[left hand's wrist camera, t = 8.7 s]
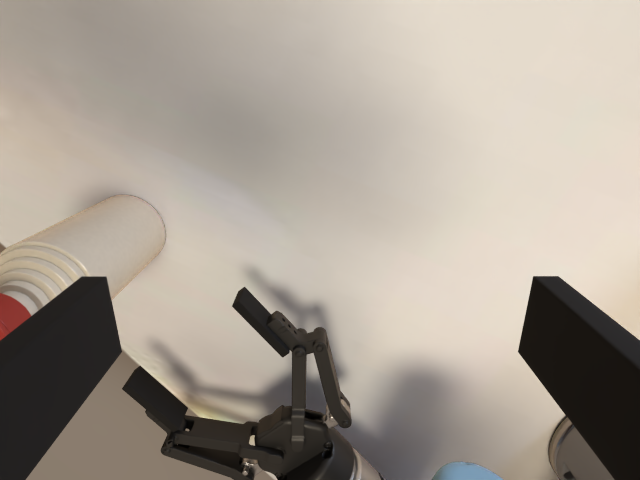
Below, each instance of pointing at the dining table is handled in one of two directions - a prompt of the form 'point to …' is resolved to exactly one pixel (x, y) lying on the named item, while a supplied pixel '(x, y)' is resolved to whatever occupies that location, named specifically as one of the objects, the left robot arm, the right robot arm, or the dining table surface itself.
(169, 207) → the dining table surface
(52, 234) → the bottle
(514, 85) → the dining table surface
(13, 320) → the cap
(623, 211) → the dining table surface
